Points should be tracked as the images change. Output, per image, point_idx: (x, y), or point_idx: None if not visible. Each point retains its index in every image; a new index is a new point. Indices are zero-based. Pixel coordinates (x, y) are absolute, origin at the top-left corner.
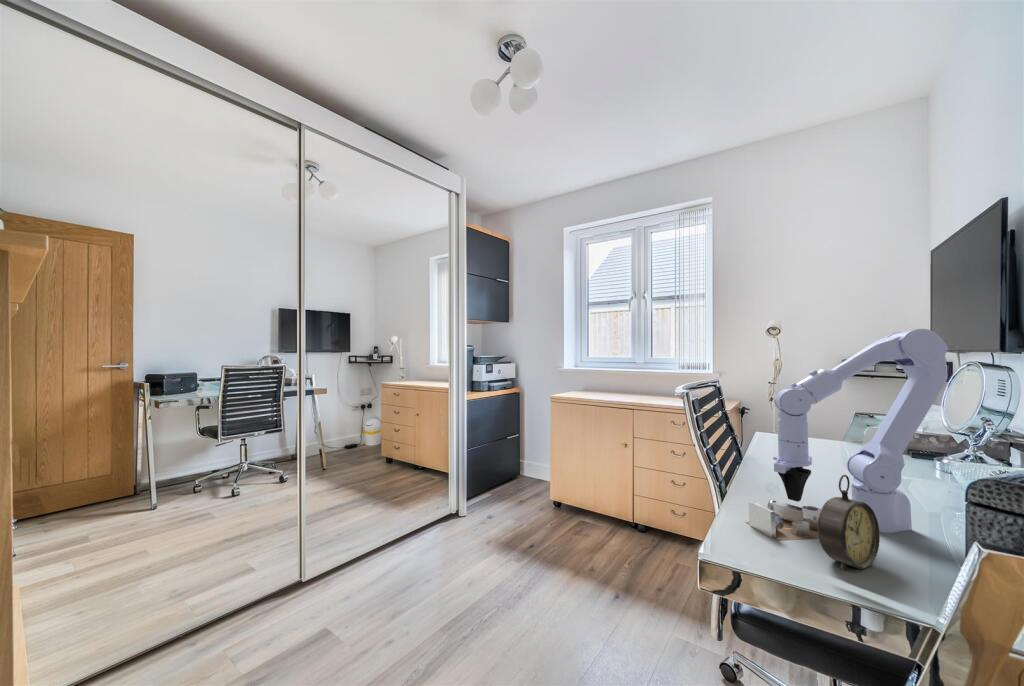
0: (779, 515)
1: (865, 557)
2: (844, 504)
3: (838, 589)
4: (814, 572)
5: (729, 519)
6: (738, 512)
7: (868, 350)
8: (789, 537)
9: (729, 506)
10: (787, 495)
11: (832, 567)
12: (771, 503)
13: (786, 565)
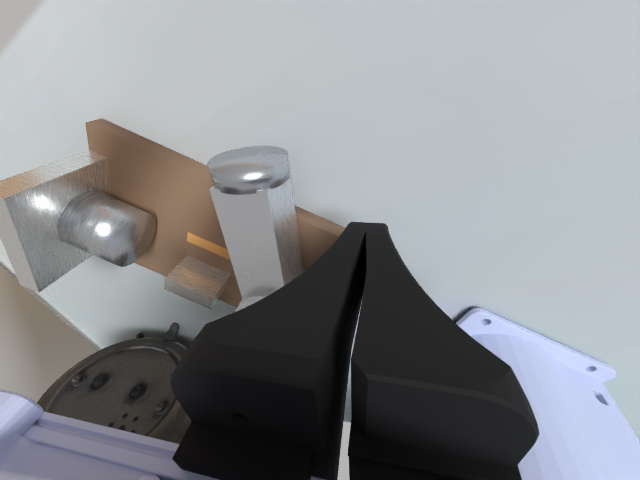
0: (116, 264)
1: None
2: None
3: (104, 335)
4: (106, 309)
5: (82, 20)
6: None
7: None
8: (151, 260)
9: None
10: (342, 232)
11: (154, 323)
12: (213, 183)
13: (72, 277)
